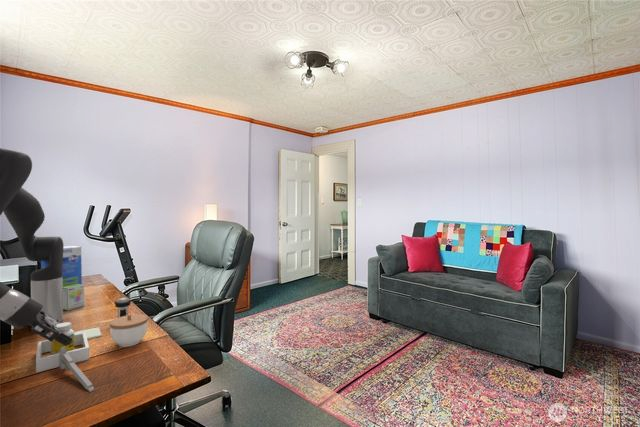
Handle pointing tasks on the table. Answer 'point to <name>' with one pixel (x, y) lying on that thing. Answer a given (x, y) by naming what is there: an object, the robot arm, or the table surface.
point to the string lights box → (70, 263)
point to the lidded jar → (128, 329)
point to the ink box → (72, 294)
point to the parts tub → (53, 360)
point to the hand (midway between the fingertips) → (69, 338)
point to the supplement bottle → (67, 331)
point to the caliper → (73, 369)
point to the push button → (122, 306)
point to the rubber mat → (91, 333)
